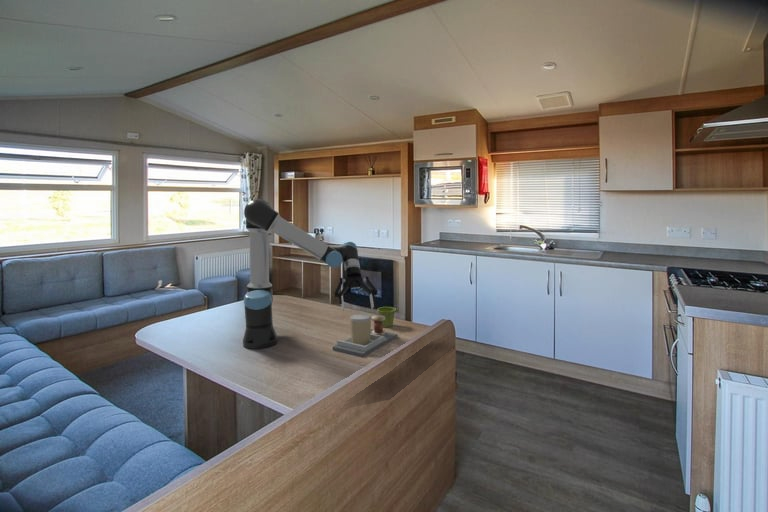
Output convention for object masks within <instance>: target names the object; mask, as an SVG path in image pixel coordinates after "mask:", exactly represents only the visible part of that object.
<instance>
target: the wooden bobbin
mask: <svg viewBox="0 0 768 512" xmlns="http://www.w3.org/2000/svg"><path fill="white" fill-rule="evenodd" d="M370 317H371V322H372V321H373V331H372V334H375V335H380V336H383V335H385V332H386V330H384V329H383V328H384V327H383V321H384V320H385V316H382V315H379V314H378V315H372V316H370Z"/></svg>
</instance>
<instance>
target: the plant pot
mask: <svg viewBox="0 0 768 512" xmlns="http://www.w3.org/2000/svg"><path fill="white" fill-rule="evenodd" d="M376 311H377V312H378V315H382V316H385V320H384V321H383V328H386V327H387V328H392V326H394V319H395V313H396V311H397V309H396V307H392V306H382V307H378V308H377V310H376Z"/></svg>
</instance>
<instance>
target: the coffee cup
mask: <svg viewBox="0 0 768 512" xmlns="http://www.w3.org/2000/svg"><path fill="white" fill-rule="evenodd" d="M371 317H372V316H371V315H370V314H368V313H355V314H352V315H350V317H349V325H350V334H351V337H352V343H354V344H359V345H363V346H364V345H367V344H369V343H370V329H372V328H371V327H372V326H371V324H372V323H371V322H372V320H371Z"/></svg>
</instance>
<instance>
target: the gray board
mask: <svg viewBox="0 0 768 512" xmlns="http://www.w3.org/2000/svg"><path fill="white" fill-rule="evenodd" d="M373 330H374V328H373V329H372V328H370V343H369V344H367V345H364V346H363V345H359V344H354V343H352V336H351V337H349V338H348V339H345V340H340V339H338V340H336V344H335V345H334V346H332V351H335V352H338V353H344V354H348V355H352V356H356V357H361V358H364V357H366V356H368V355H369V353H370V354H371V353H373V352H375V351H376V350H378V349H380V348H381V347H383V346H385V345H386V343H387V344H389V343H390V342H392V341H394V340H395V339H398V336H399V335H398V333H395V332H389V331H385V335H383V336H380V335H375V334H372V331H373ZM388 342H389V343H388Z"/></svg>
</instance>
